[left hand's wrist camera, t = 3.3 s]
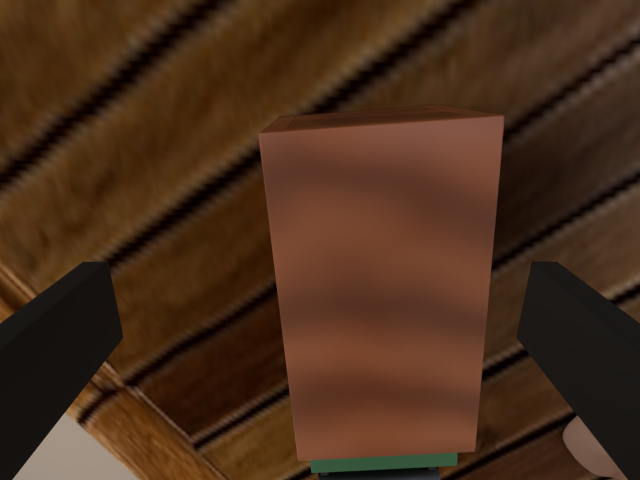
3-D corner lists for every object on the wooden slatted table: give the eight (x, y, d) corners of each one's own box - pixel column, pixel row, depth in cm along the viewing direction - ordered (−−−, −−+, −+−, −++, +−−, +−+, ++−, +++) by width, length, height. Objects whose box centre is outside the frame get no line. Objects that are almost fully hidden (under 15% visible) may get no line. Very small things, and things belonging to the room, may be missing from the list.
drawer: (425, 439, 34) (452, 529, 27) (318, 445, 34) (318, 535, 27) (434, 166, 26) (475, 196, 19) (292, 176, 26) (283, 209, 19)
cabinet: (432, 351, 32) (475, 452, 23) (303, 358, 32) (297, 461, 24) (441, 104, 26) (505, 114, 17) (279, 116, 26) (257, 132, 17)
